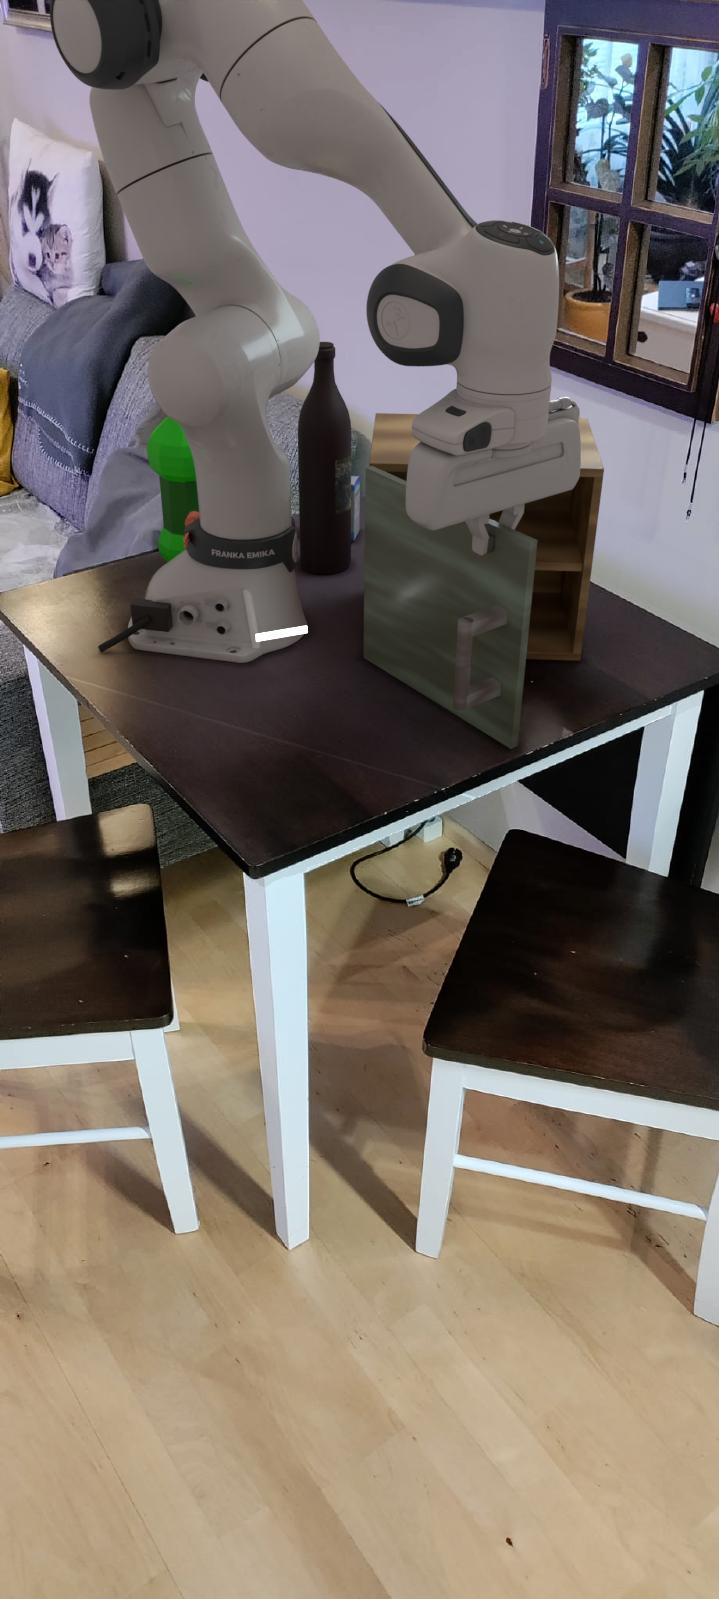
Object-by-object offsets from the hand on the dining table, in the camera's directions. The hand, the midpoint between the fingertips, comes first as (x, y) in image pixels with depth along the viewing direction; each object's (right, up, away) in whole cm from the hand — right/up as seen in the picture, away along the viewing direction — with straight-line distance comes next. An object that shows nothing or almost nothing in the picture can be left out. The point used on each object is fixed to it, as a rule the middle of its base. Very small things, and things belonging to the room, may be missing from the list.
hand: (491, 549), depth 123 cm
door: (-7, -15, +15) cm, 22 cm away
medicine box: (-18, +14, +57) cm, 61 cm away
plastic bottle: (-36, +7, +47) cm, 59 cm away
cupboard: (+1, -3, +33) cm, 33 cm away
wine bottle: (-18, +7, +47) cm, 51 cm away
